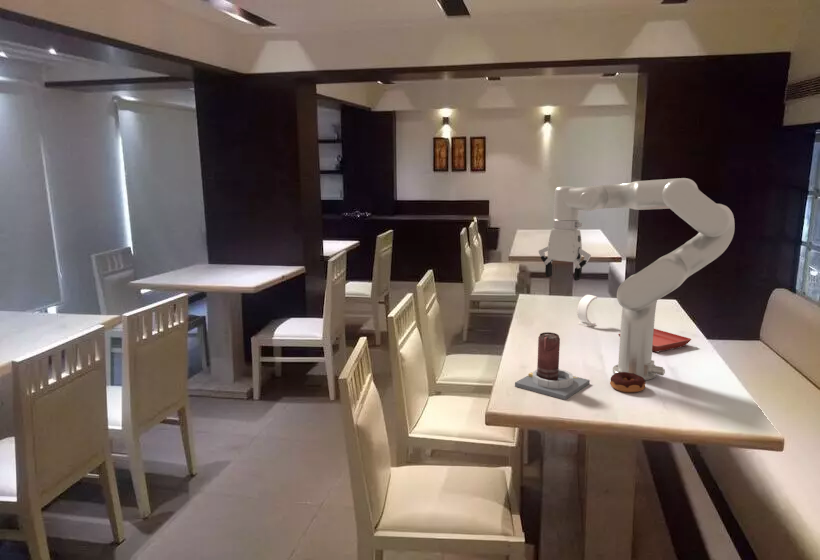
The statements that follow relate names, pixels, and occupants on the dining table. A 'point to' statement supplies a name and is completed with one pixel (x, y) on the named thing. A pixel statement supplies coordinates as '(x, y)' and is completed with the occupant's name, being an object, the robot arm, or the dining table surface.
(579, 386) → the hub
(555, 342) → the can
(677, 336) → the plant saucer
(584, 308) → the white curved piece
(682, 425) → the dining table surface
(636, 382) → the donut
